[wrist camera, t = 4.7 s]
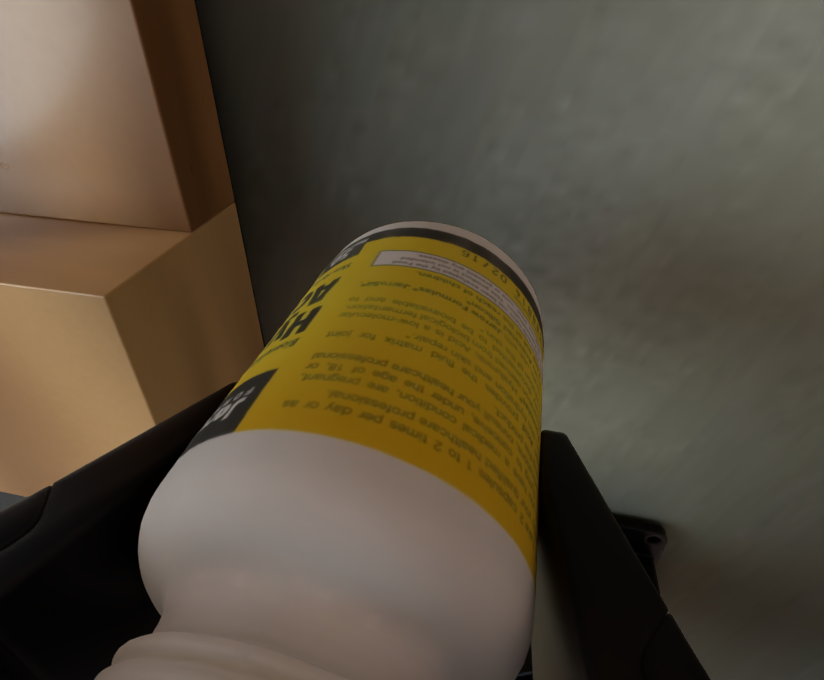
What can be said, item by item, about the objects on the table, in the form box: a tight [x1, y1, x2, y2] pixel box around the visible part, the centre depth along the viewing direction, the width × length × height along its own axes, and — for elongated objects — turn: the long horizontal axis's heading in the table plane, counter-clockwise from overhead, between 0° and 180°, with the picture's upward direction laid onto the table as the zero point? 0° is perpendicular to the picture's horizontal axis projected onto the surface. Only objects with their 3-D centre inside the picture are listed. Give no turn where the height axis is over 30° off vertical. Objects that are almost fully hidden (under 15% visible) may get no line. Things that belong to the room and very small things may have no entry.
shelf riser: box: [0, 0, 264, 497], centre depth 15 cm, size 12×16×6 cm
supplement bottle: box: [94, 221, 544, 680], centre depth 8 cm, size 5×5×10 cm
